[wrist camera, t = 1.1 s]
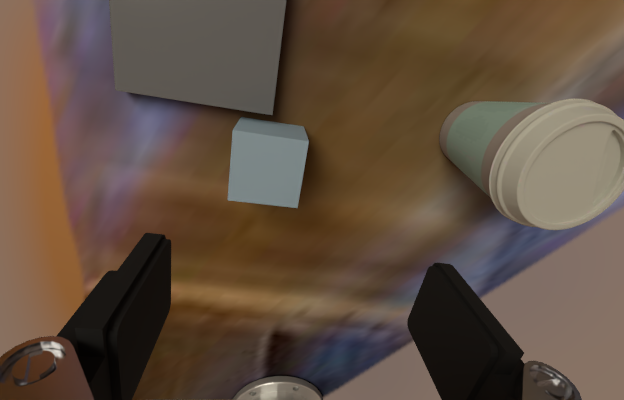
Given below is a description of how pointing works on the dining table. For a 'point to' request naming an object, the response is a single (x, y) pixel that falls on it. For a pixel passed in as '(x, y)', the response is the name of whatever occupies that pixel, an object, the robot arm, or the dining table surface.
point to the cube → (267, 162)
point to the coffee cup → (540, 158)
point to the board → (199, 50)
